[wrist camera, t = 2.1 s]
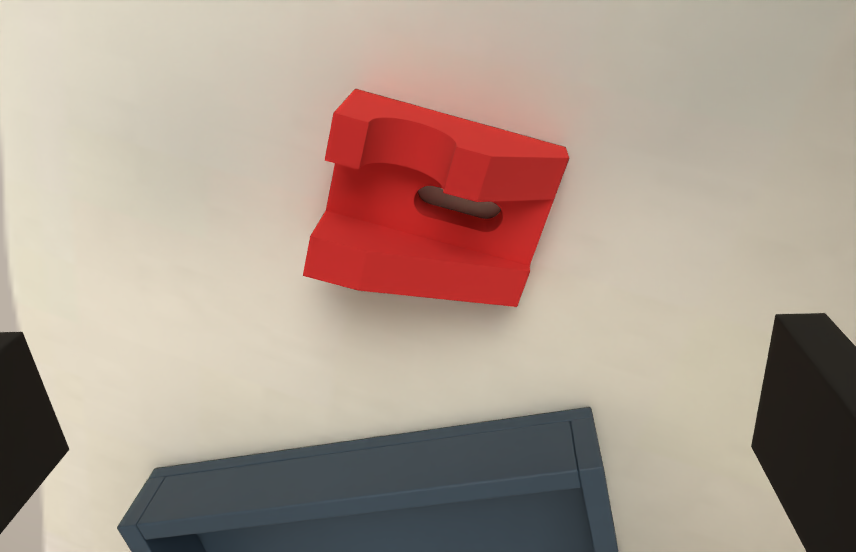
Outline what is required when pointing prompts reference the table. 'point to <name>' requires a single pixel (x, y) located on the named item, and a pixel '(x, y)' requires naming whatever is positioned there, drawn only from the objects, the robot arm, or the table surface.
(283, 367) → the table surface
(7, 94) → the table surface
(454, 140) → the bracket
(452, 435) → the tray
